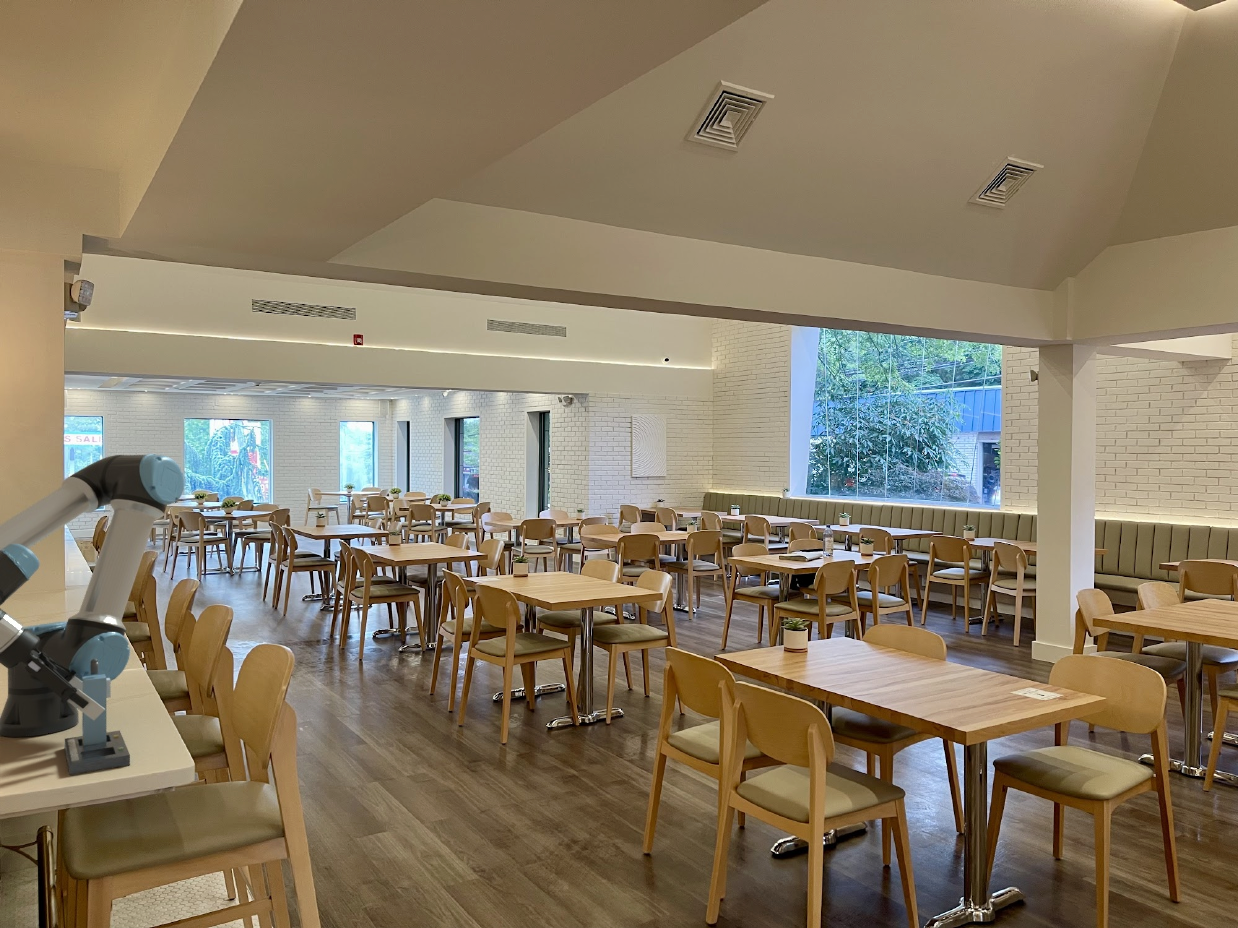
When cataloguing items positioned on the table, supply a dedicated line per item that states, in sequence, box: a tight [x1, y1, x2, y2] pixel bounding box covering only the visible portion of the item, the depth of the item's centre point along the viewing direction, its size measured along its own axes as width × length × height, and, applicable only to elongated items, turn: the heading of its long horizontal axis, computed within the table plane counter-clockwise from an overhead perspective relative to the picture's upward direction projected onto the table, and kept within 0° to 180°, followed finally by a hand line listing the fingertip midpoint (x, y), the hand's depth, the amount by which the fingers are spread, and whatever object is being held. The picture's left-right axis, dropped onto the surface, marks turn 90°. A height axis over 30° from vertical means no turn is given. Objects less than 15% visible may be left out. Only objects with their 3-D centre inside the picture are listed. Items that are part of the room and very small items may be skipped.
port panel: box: [64, 730, 131, 776], centre depth 179 cm, size 20×10×2 cm, turn 34°
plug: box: [81, 659, 112, 746], centre depth 183 cm, size 4×5×19 cm
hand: (97, 707), depth 183 cm, fingers open, 13 cm apart
